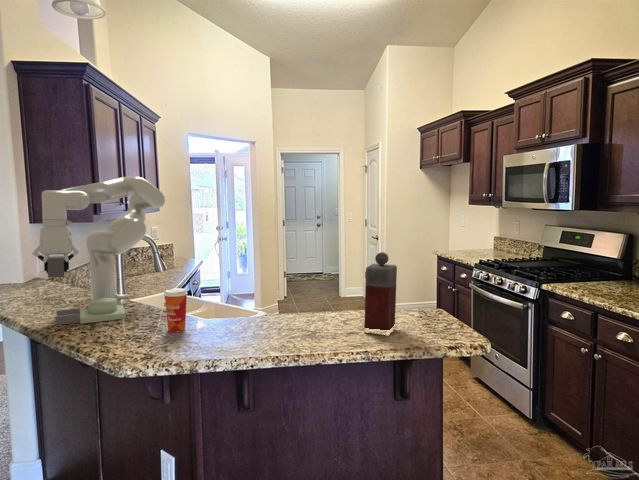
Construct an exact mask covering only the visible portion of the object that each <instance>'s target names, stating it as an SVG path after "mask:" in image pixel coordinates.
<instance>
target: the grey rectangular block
mask: <svg viewBox="0 0 639 480" xmlns="http://www.w3.org/2000/svg"><path fill="white" fill-rule="evenodd" d="M47 262H48V273H47V277H48V279H49V278H62V277H63V278H64V277H66V273H67V272H64V262H65V258H64V256H63V255H60V256H59V255H56V256H55V255H54V256H49V258H48V259H47Z"/></svg>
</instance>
